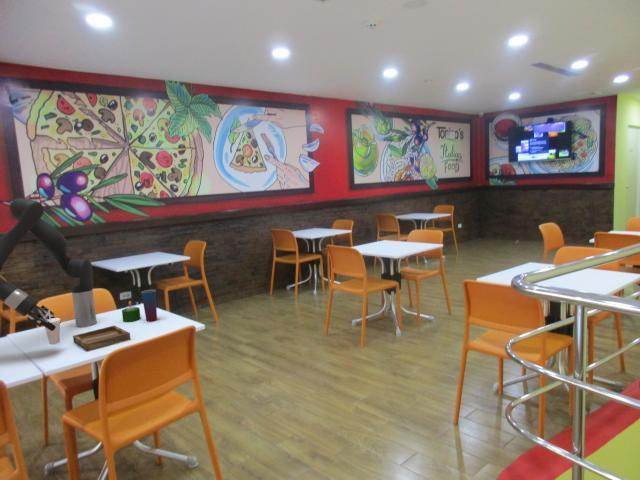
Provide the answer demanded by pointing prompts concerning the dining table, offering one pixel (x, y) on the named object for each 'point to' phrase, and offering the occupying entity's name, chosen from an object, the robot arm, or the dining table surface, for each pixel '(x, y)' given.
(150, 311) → the cup
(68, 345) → the dining table surface
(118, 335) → the tray
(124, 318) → the candle
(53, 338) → the smoothie
